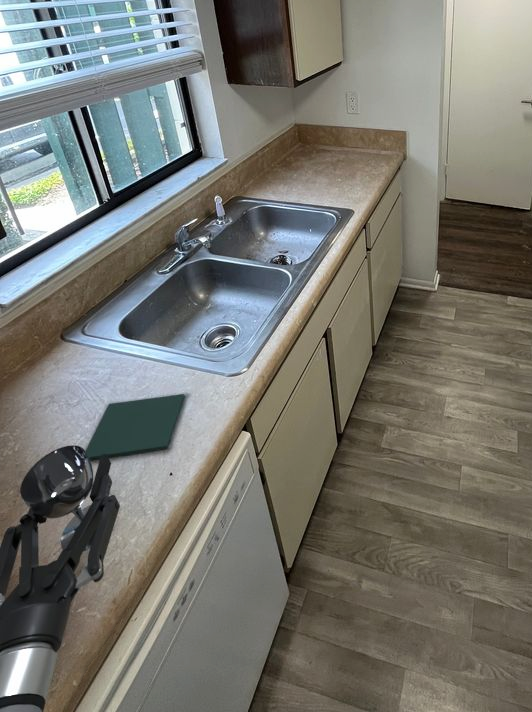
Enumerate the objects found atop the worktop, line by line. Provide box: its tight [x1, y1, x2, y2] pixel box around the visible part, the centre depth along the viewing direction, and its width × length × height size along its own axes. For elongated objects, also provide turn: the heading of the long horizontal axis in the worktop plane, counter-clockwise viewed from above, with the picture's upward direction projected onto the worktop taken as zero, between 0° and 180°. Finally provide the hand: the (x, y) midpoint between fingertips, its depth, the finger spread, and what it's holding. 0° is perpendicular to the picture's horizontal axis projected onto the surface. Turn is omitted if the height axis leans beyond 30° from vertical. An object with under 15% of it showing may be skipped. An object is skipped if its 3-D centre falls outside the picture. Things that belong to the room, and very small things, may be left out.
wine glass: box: [19, 444, 98, 553], centre depth 67 cm, size 8×8×15 cm
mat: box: [85, 393, 186, 461], centre depth 94 cm, size 16×12×1 cm
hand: (80, 466), depth 71 cm, fingers closed on wine glass, 6 cm apart
